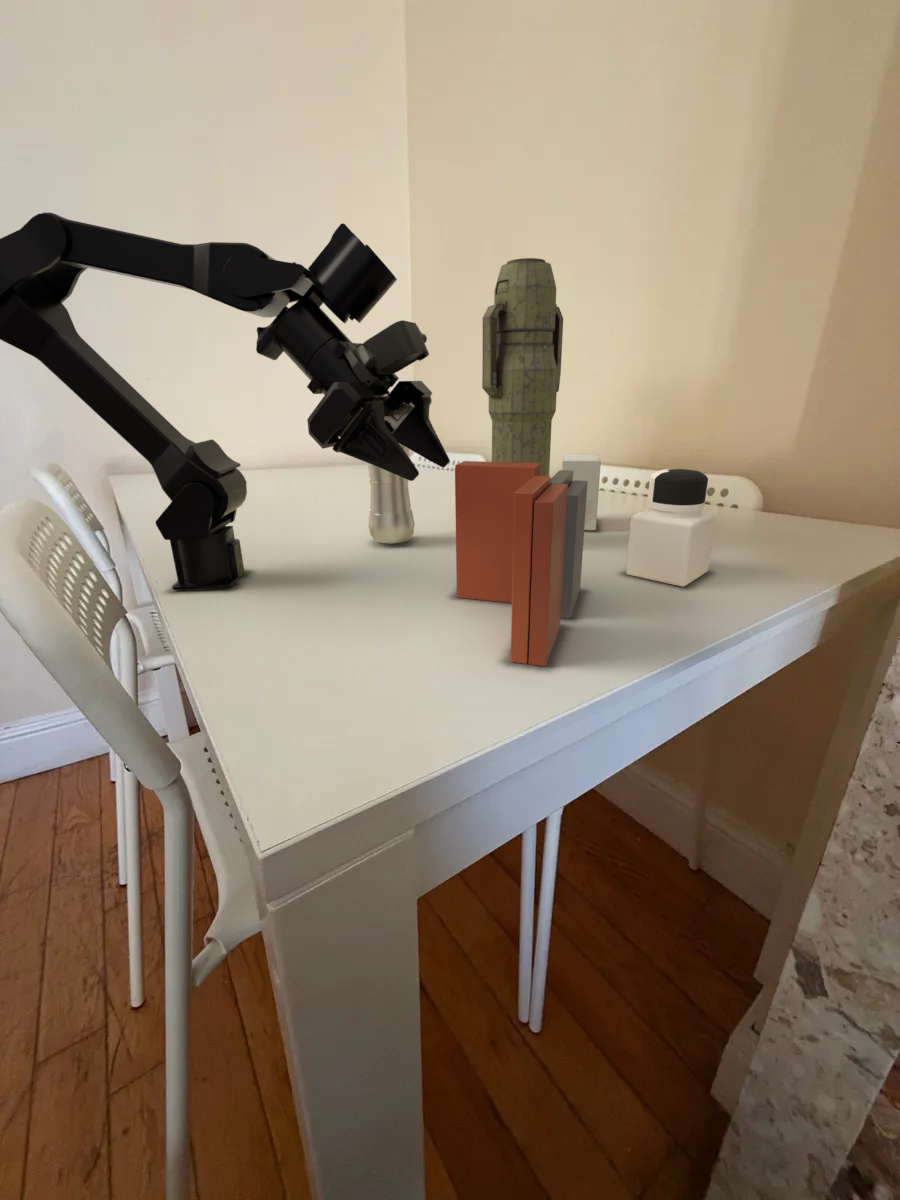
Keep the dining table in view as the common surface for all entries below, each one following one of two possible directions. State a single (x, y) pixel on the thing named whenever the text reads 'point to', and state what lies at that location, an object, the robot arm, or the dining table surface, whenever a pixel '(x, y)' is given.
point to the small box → (587, 471)
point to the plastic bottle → (389, 506)
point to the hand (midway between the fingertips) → (432, 470)
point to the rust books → (537, 569)
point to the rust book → (487, 526)
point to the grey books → (572, 539)
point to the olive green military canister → (522, 361)
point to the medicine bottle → (672, 529)
